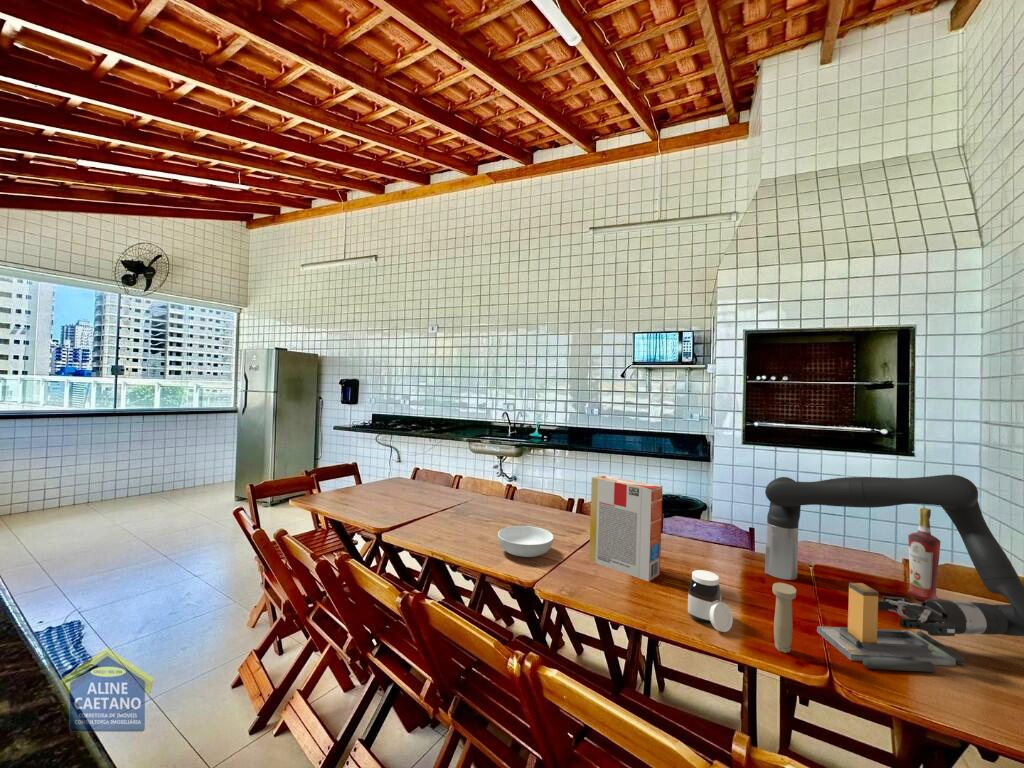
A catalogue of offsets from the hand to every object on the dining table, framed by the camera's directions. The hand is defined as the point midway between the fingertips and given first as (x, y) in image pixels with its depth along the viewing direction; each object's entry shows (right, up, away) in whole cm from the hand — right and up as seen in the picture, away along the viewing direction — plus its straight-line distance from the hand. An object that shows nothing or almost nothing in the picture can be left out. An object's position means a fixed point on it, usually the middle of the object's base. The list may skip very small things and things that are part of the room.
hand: (886, 613), depth 109 cm
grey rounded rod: (-4, -8, -9) cm, 13 cm away
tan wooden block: (-6, -7, 0) cm, 9 cm away
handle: (-27, -8, -2) cm, 28 cm away
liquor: (+35, -10, +27) cm, 45 cm away
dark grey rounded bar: (+12, -9, 0) cm, 15 cm away
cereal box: (-54, -7, +44) cm, 70 cm away
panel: (-1, -8, 0) cm, 9 cm away
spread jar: (-39, -8, +10) cm, 41 cm away
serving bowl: (-88, -6, +55) cm, 104 cm away
